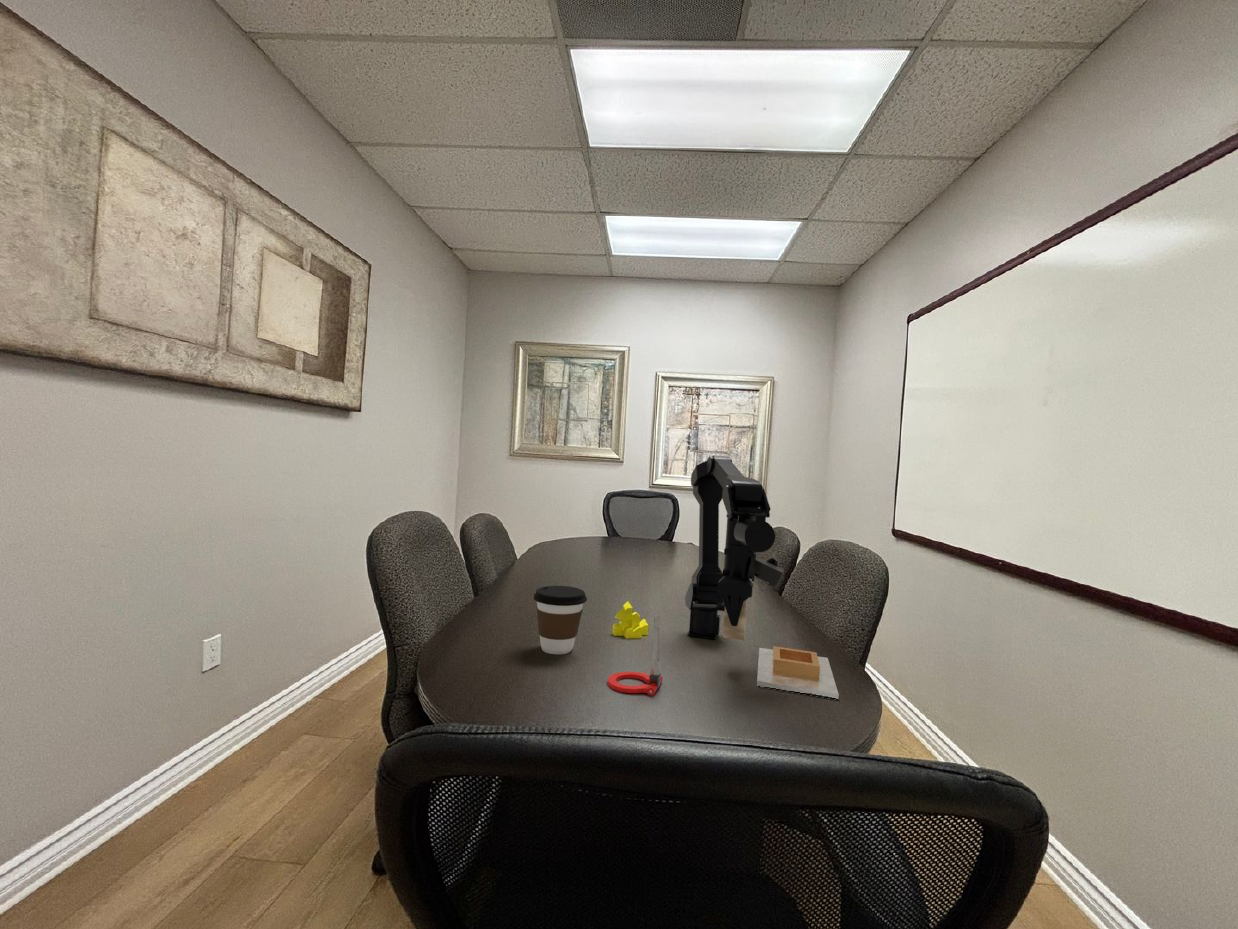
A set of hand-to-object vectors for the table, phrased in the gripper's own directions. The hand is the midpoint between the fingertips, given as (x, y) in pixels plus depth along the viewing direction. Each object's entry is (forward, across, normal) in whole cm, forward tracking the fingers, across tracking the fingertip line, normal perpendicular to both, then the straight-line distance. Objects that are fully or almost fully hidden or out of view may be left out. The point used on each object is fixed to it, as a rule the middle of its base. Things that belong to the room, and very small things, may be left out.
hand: (734, 622), depth 110 cm
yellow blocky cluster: (+10, +12, +24) cm, 28 cm away
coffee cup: (+9, -5, +35) cm, 37 cm away
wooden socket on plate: (+9, +3, -12) cm, 15 cm away
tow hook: (+10, -16, +16) cm, 25 cm away
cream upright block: (+3, 0, 0) cm, 3 cm away
